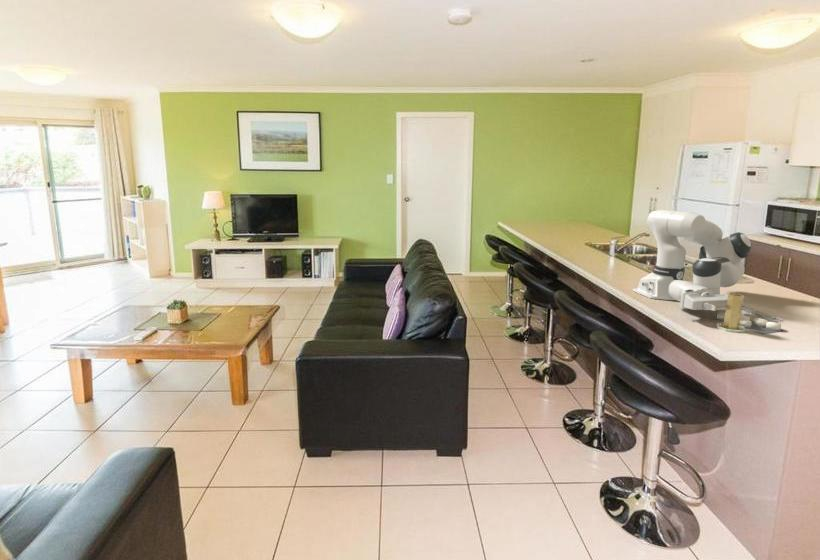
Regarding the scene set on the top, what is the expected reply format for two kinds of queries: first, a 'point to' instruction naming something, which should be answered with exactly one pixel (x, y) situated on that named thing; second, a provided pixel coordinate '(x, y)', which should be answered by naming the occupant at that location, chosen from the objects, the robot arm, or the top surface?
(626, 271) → the top surface
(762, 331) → the mat
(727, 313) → the coupling nut
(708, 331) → the top surface
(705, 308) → the robot arm
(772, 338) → the top surface
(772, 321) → the adjustable wrench
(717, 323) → the dish
